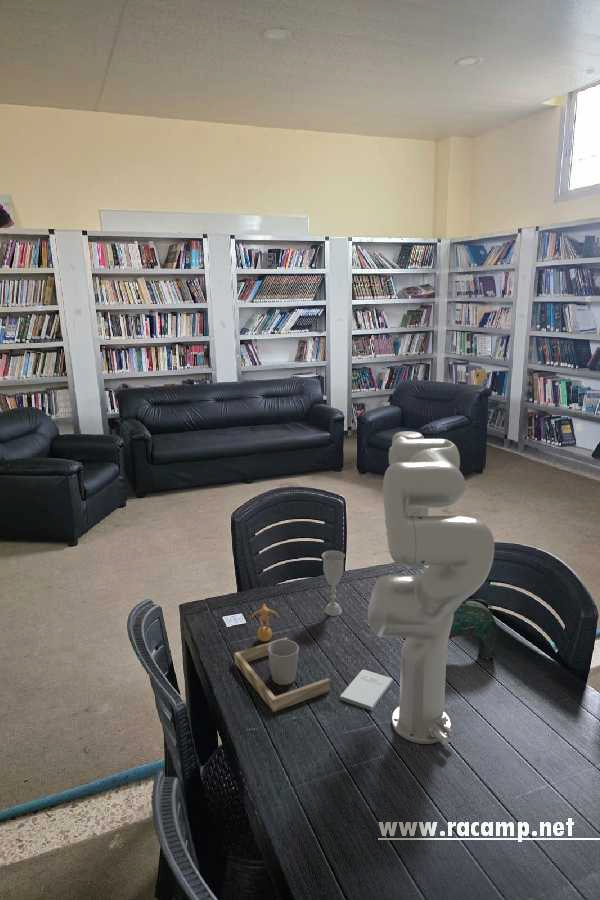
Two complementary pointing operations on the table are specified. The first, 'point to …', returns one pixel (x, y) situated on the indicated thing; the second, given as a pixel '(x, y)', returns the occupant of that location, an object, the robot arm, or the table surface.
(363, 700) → the external hard drive
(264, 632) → the figurine
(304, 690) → the wooden u-shaped frame
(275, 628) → the table surface
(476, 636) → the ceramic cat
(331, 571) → the chalice
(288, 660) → the cup
